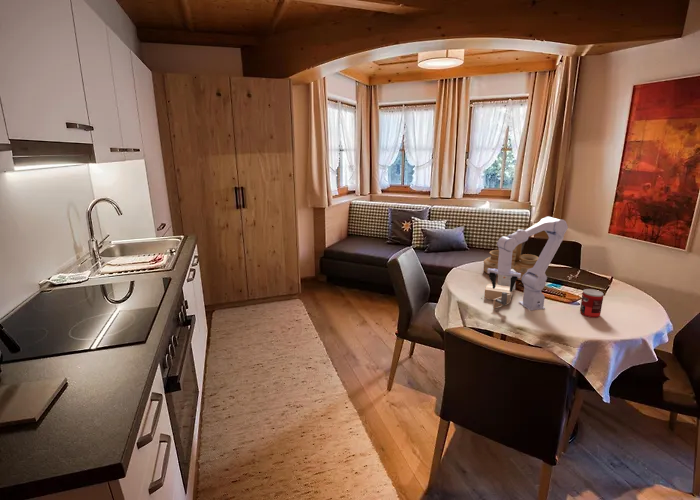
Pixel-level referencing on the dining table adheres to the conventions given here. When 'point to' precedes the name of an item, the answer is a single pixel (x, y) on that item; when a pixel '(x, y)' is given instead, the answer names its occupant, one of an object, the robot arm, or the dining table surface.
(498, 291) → the carton
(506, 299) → the tan cardboard box
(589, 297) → the canned food
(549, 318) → the dining table surface
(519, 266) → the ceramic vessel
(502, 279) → the small box
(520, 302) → the robot arm
